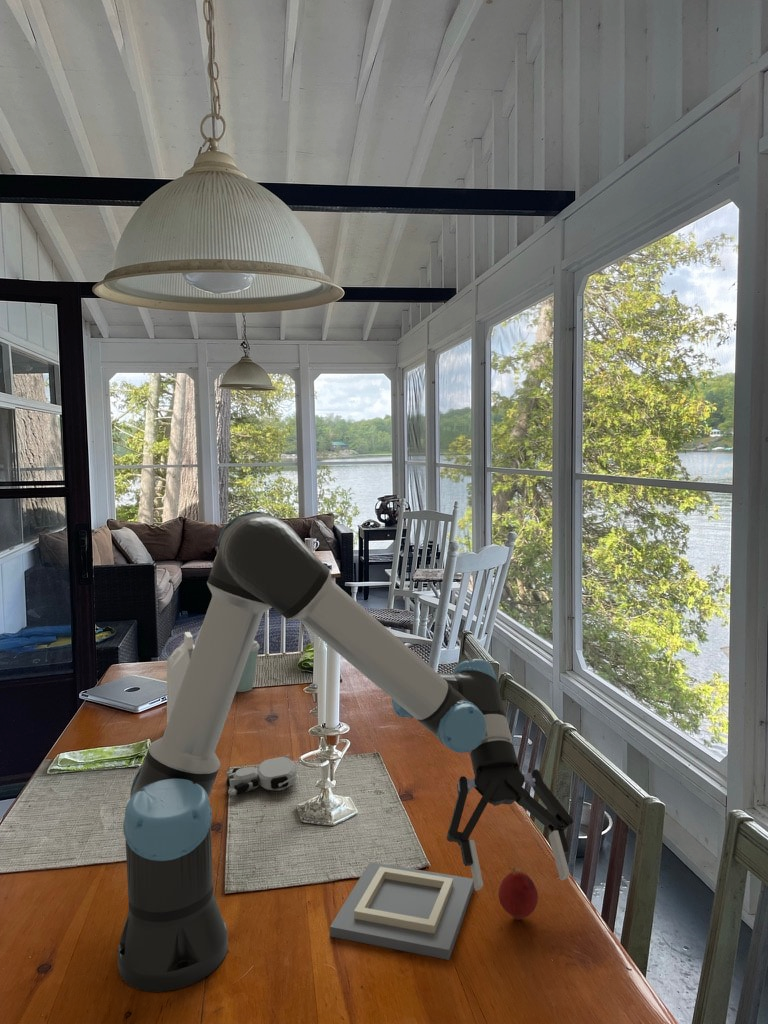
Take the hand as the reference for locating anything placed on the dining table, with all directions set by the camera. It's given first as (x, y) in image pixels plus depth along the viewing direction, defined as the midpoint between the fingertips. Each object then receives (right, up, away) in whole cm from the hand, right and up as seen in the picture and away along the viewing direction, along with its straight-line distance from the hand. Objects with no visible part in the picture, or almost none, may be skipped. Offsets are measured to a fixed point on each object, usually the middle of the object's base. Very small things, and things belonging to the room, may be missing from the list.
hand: (522, 883), depth 111 cm
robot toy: (-47, -4, +48) cm, 67 cm away
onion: (-1, -6, +1) cm, 6 cm away
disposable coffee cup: (-64, +1, +115) cm, 132 cm away
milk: (-71, -1, +79) cm, 106 cm away
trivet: (-18, -6, +3) cm, 19 cm away
